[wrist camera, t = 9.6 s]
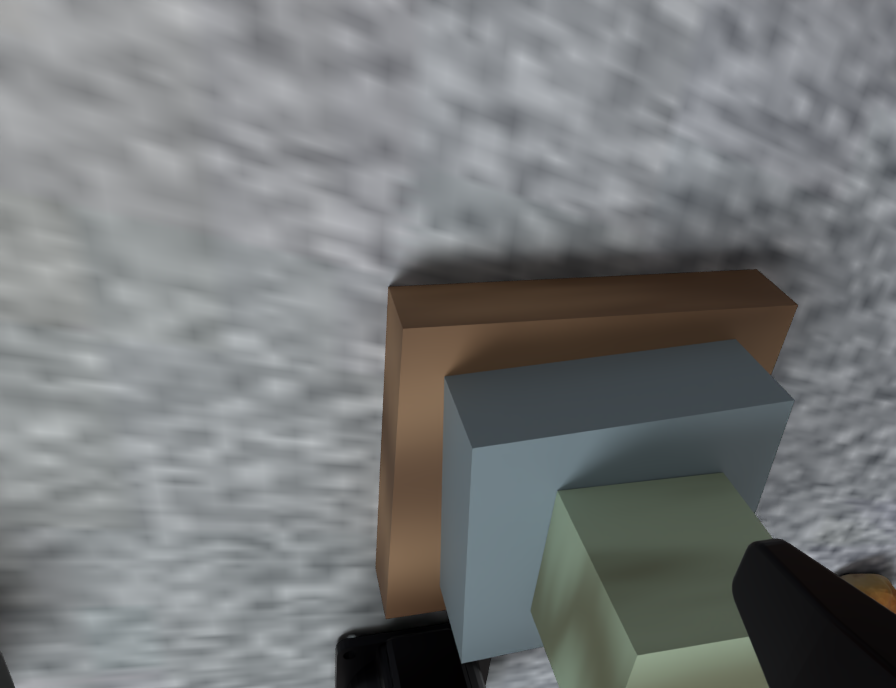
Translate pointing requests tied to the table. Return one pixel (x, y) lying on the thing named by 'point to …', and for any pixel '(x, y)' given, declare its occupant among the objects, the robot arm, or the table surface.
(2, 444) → the table surface
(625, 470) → the slate top slab
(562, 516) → the sage block
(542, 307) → the walnut base slab
